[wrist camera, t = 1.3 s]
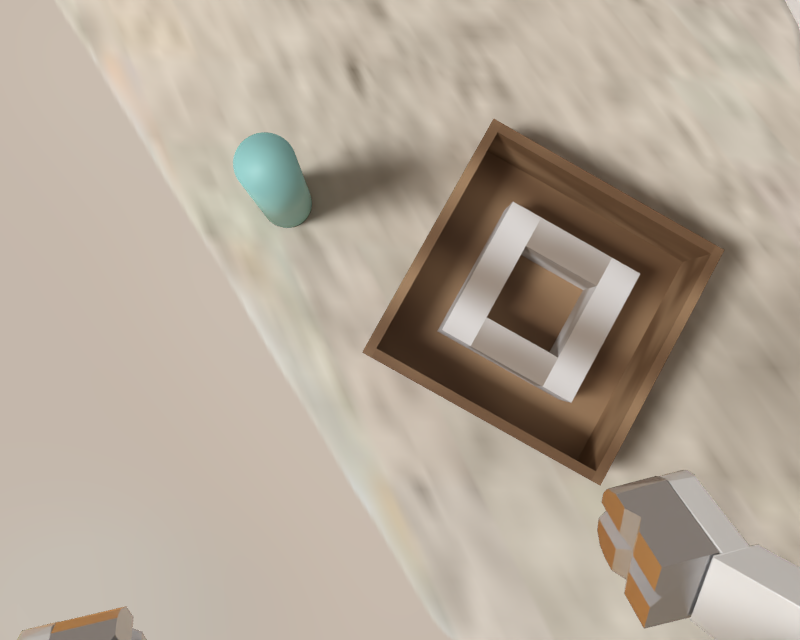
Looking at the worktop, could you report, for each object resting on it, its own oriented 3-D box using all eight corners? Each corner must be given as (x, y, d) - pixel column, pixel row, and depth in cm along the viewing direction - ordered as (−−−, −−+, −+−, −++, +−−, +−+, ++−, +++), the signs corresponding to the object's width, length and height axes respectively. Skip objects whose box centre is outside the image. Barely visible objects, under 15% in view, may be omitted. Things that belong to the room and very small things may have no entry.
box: (482, 140, 43) (493, 118, 39) (691, 259, 43) (724, 250, 39) (363, 352, 42) (362, 352, 38) (578, 472, 42) (600, 485, 38)
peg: (277, 169, 42) (253, 121, 33) (320, 194, 42) (308, 152, 33) (252, 212, 42) (221, 174, 33) (296, 236, 42) (276, 205, 33)
